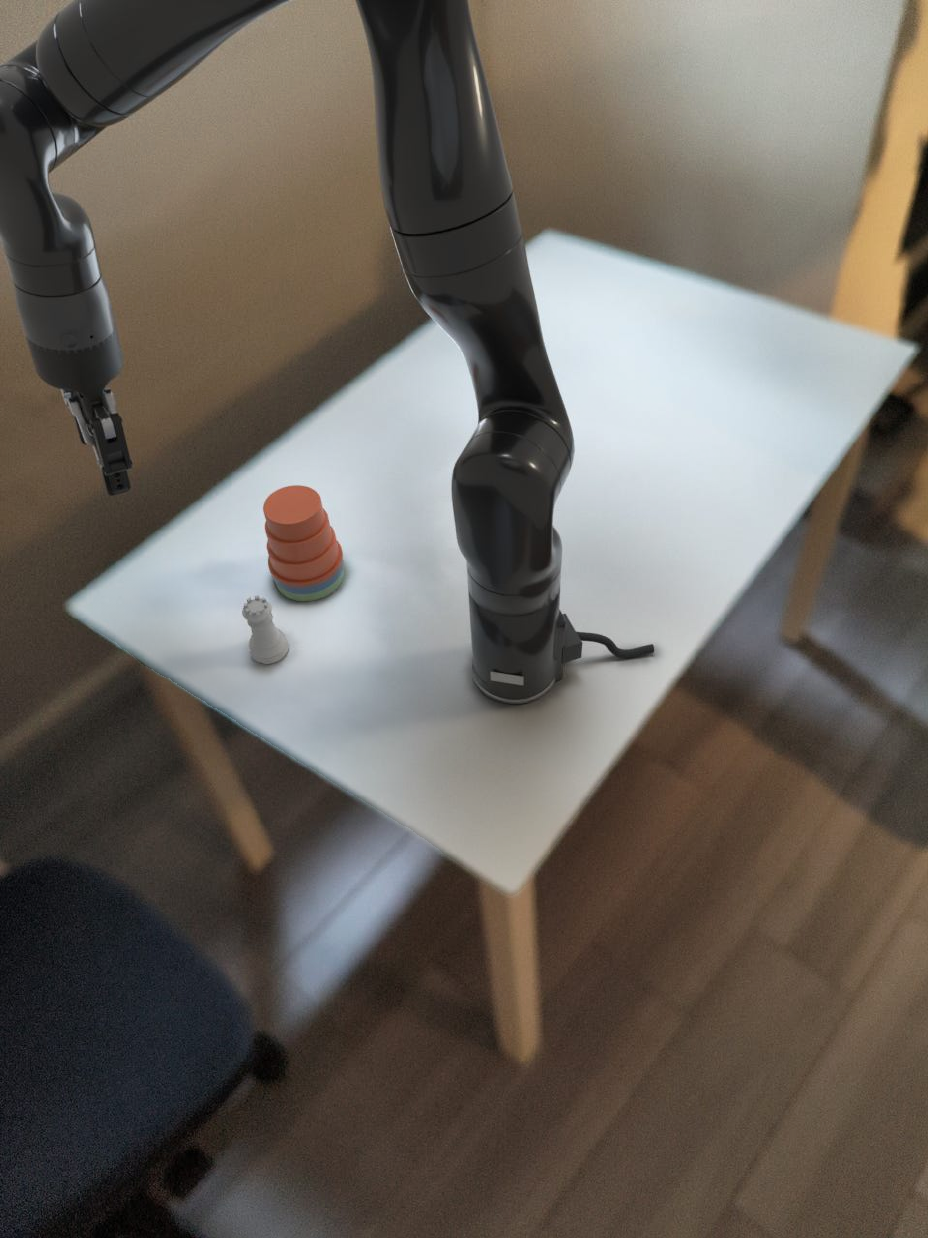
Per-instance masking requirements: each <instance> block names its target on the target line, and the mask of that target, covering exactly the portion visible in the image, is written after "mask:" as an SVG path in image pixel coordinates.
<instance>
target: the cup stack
mask: <svg viewBox="0 0 928 1238" xmlns="http://www.w3.org/2000/svg"><path fill="white" fill-rule="evenodd" d="M262 511H263V515H264V519H265V522H264V532H265V535H266V538H267V541H266V551H267V554H268V556H267V566H268V571H269V573H270V575H271V576H272V579H273V581H274V583H275V585H276V587H277V590H278V591H279V592H280V593H281V594H282V595H283V596H284V597H286V598H287V599H290V600H293V601H297V602H311V601H312V602H314V601H317V600H320V599H323V598H326V597H328V596H329V595H330V594H332V593H334V592H335V591H336V590H337V589H338V588H339V587H340V585H341V584H342V582H343V580H344V577H345V571H344V553H343V548H342V545H341V543H340V542H339V541H338V539H337V535H336V531H335V530H334V528H333V527H332V525H331V523H330V519H329V515H328V513H327V511H326V509H325V508H323V502H322V497H321V496H320V494H319V492H318V491H317V490H315V489H313V488H312V487H309V486H306V485H298V484H297V485H296V484H295V485H294V484H293V485H288V486H283V487H281V488H279V489H277V490H275V491H272V492H271V494H269V495H268V496H267V497H266V498H265V500H264V502H263V506H262Z"/></svg>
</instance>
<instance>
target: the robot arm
mask: <svg viewBox="0 0 928 1238" xmlns="http://www.w3.org/2000/svg"><path fill="white" fill-rule="evenodd" d="M292 1H293V0H71V2H70V3H68V4H67V5H66V6H64V7H63V8H62V9H61V10H59V12H57V13H56V14H55V15H54V16H53V17H52V18H51V19H50V20H49V21H48V23H47V24H46V25H45V26H44V27H43V29H42V30H41V32H40V33H39V35H38V38H37V39H36V40H34V41H33V42H31V44H29V45H28V46H27V47H25V48H23V49H22V50H21V51H19V52H18V53H16V54H15V55H14V56H12V57H10V58H9V59H7V60H6V61H5V62H3V63H2V64H0V242H1V246H2V250H3V253H4V257H5V261H6V264H7V267H8V272H9V274H10V278H11V279H12V284H13V290H14V299H15V305H16V308H17V313H18V315H19V319H20V322H21V325H22V329H23V332H24V335H25V339H26V343H27V346H28V349H29V352H30V353H29V354H30V357H31V359H32V364H33V366H34V370H35V373H36V374H37V376H38V377H39V379H41V381H42V382H44V383H45V384H47V385H48V386H51V387H52V388H55V389H59V390H60V393H61V396H62V399H63V402H64V403H65V406H66V407H67V408H68V409H69V410H70V413H71V414H72V416H73V419H74V424H75V427H76V430H77V435H78V438H79V440H80V442H81V444H82V445H88V446H91V447H92V449H93V451H94V454H95V458H96V464H97V466H98V467H99V468H100V473H101V476H102V480H103V484H104V487H105V490H106V493H107V494H108V495H109V496H111V497H113V496H117V495H122V494H124V493H127V492H129V491H130V490H131V489H132V488H131V487H132V486H131V483H130V479H129V474H128V471H129V470H132V469H133V461H132V459H131V456H130V453H129V452H130V451H129V448H128V444H127V438H126V435H125V431H124V427H123V419H122V416H121V415H120V414H119V413H118V412H117V410H116V404H117V402H116V399H115V395H114V393H113V390H112V388H111V387H107V386H108V385H109V384H110V383H111V382H112V381H114V379H116V378H117V377H118V375H119V374H120V373H121V371H122V369H123V367H124V366H123V365H124V358H123V353H122V348H121V344H120V340H119V333H118V329H117V325H116V320H115V315H114V311H113V306H112V301H111V297H110V293H109V290H108V287H107V285H106V282H105V279H104V276H103V272H102V269H101V263H100V260H99V255H98V250H97V245H96V240H95V236H94V232H93V231H94V230H93V227H92V224H91V221H90V218H89V216H88V214H87V212H86V211H87V210H85V209H84V207H83V206H82V205H81V204H80V203H79V202H78V201H77V200H76V199H74V198H72V197H70V196H68V195H66V194H63V193H58V192H53V191H52V189H51V183H50V174H51V173H52V172H53V171H55V170H56V169H57V168H58V167H59V166H61V165H62V164H63V163H64V162H66V161H67V160H68V159H69V158H70V157H72V156H73V155H74V154H76V153H77V152H78V151H79V150H80V149H82V148H83V147H84V146H86V145H87V144H88V143H89V142H90V141H92V140H93V139H94V138H96V137H97V136H98V135H99V134H101V132H103V131H104V130H105V129H107V128H108V127H110V126H114V125H117V124H118V123H120V122H122V121H125V120H126V119H128V118H129V117H131V116H133V115H134V114H135V113H137V112H138V111H140V110H142V109H143V108H144V107H145V106H147V105H148V104H150V103H152V102H153V101H154V100H156V99H157V98H158V97H160V96H162V95H163V94H164V93H165V92H167V91H168V90H169V89H171V88H172V87H173V86H175V85H176V84H177V83H179V82H180V81H181V80H183V79H184V78H185V77H186V76H187V75H189V74H190V73H192V71H194V70H195V69H196V68H197V67H198V66H200V65H201V64H202V63H203V62H204V61H205V60H206V59H207V58H209V56H211V55H212V54H213V53H214V52H215V51H216V50H217V49H218V48H219V47H220V46H222V45H223V44H224V43H225V42H226V41H228V40H229V39H230V38H231V37H233V36H234V35H235V34H237V33H239V32H240V31H241V30H242V29H244V28H246V27H247V26H249V25H250V24H252V23H253V22H255V21H257V20H258V19H260V18H262V17H264V16H265V15H266V14H268V13H270V12H273V11H274V10H276V9H277V8H280V7H282V6H284V5H285V4H288V3H290V2H292ZM354 1H355V3H356V7H357V10H358V13H359V17H360V20H361V23H362V27H363V31H364V34H365V38H366V43H367V48H368V53H369V57H370V64H371V69H372V70H371V71H372V77H373V79H372V81H373V92H374V112H375V113H374V114H375V115H374V117H375V137H376V151H377V153H376V154H377V163H378V173H379V175H378V176H379V183H380V191H381V197H382V203H383V206H384V212H385V216H386V219H387V222H388V225H389V229H390V232H391V235H392V238H393V241H394V245H395V248H396V251H397V254H398V257H399V258H398V259H399V261H400V263H401V266H402V267H401V268H402V270H403V274H404V276H405V278H406V281H407V283H408V286H409V288H410V290H411V292H412V294H413V295H414V297H415V299H416V300H417V302H418V303H419V304H420V306H421V307H422V308H423V310H424V311H425V312H426V313H427V315H429V317H430V318H431V319H432V320H433V321H434V322H435V323H436V324H437V325H438V326H439V328H440V329H441V330H442V331H444V333H445V334H446V335H447V336H448V337H449V338H450V339H451V340H452V341H453V342H454V343H455V345H456V346H457V347H458V349H459V351H460V352H461V354H462V356H463V358H464V360H465V365H466V366H467V369H468V373H469V376H470V379H471V383H472V388H473V391H474V397H475V401H476V402H475V403H476V407H477V408H476V409H477V425H476V428H475V429H474V431H473V433H472V434H471V436H470V438H469V439H468V441H467V443H466V444H465V446H464V448H463V449H462V451H461V453H460V454H459V456H458V457H457V459H456V461H455V463H454V466H453V469H452V473H451V480H450V481H451V482H450V483H451V485H450V489H451V490H450V493H451V503H452V513H453V521H454V528H455V529H454V530H455V536H456V542H457V546H458V548H459V551H460V553H461V555H462V556H463V558H464V559H465V563H466V565H465V566H466V578H467V592H468V593H467V595H468V612H469V626H470V628H469V629H470V641H471V644H470V645H471V661H472V663H471V672H472V678H473V681H474V683H475V685H476V687H477V688H478V689H479V690H480V692H482V693H483V694H484V695H485V696H487V697H488V698H489V699H492V700H493V701H496V702H499V703H503V704H508V705H521V704H528V703H531V702H534V701H536V700H538V699H540V698H542V697H543V696H544V695H546V694H547V693H548V692H549V691H550V690H551V689H552V688H553V686H554V685H555V682H557V681H560V680H563V679H564V672H565V664H566V663H569V662H572V661H575V660H578V659H581V658H582V653H583V642H591V643H597V644H601V645H603V646H605V647H606V648H607V650H608V651H609V652H610V654H612V655H613V656H615V657H617V658H622V659H630V658H636V657H640V656H645V655H648V654H653V653H655V646H654V644H653V643H652V644H645V645H642V646H638V647H635V648H628V649H627V648H625V649H624V648H619V647H618V646H617V645H616V644H615V642H614V641H613V640H612V639H611V638H610V637H608V636H605V635H603V634H600V633H595V632H586V631H576V629H575V627H574V626H573V624H572V622H571V620H570V619H569V617H568V615H567V613H563V612H562V610H561V609H560V601H561V581H562V580H561V579H562V564H563V563H562V562H563V541H562V538H561V535H560V533H559V531H558V530H557V528H556V527H555V526H554V512H555V511H554V510H555V505H556V502H557V500H558V498H559V496H560V494H561V492H562V490H563V488H564V485H565V483H566V481H567V479H568V477H569V474H570V473H571V470H572V467H573V465H574V461H575V453H576V441H575V435H574V431H573V428H572V424H571V421H570V418H569V414H568V411H567V408H566V405H565V402H564V399H563V396H562V394H561V391H560V388H559V385H558V382H557V379H556V376H555V373H554V369H553V367H552V364H551V361H550V358H549V355H548V351H547V347H546V344H545V340H544V335H543V331H542V330H543V329H542V324H541V320H540V319H541V318H540V314H539V308H538V304H537V299H536V294H535V289H534V285H533V280H532V276H531V271H530V267H529V262H528V255H527V250H526V243H525V238H524V237H525V236H524V233H523V228H522V223H521V219H520V214H519V209H518V204H517V200H516V196H515V191H514V186H513V181H512V178H511V174H510V171H509V167H508V164H507V159H506V154H505V149H504V146H503V142H502V137H501V133H500V129H499V124H498V120H497V117H496V111H495V108H494V107H495V106H494V103H493V99H492V95H491V91H490V88H489V84H488V79H487V76H486V72H485V69H484V68H485V67H484V65H483V61H482V57H481V54H480V50H479V46H478V42H477V38H476V34H475V30H474V25H473V20H472V15H471V10H470V5H469V0H354Z"/></svg>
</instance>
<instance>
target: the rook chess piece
mask: <svg viewBox="0 0 928 1238" xmlns="http://www.w3.org/2000/svg"><path fill="white" fill-rule="evenodd" d="M246 601H247V602H244V603H243V608H242V611H241V614H242V617H243V618H244V619H245V620H246V622H247V625H248V626H249V627H250V628H251V636H250V638H249V643H248V649H249V653H250V656H251V658H252V659H253V660H254V661H256V662H258V663H261V664H264V665H268V664H269V665H270V664H274V663H277V662H279V661H281V660H282V659H283V658H284V657H285V656H286V654H287V653H288V651H289V648H290V644H289V641H288V638H287V636H286V634H285V633H284V632H283V631H282V630H281V629H279V628H278V627H276V625H275V624H274V621H273V619H274V616H273V614H272V612H273V611H272V610H273V605H272V603H271V602H270V601H268V600H267V599H266V598H265V597H264V596H262V597H260V595H254V598H253V599H252V597H249V598H247V599H246Z"/></svg>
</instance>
